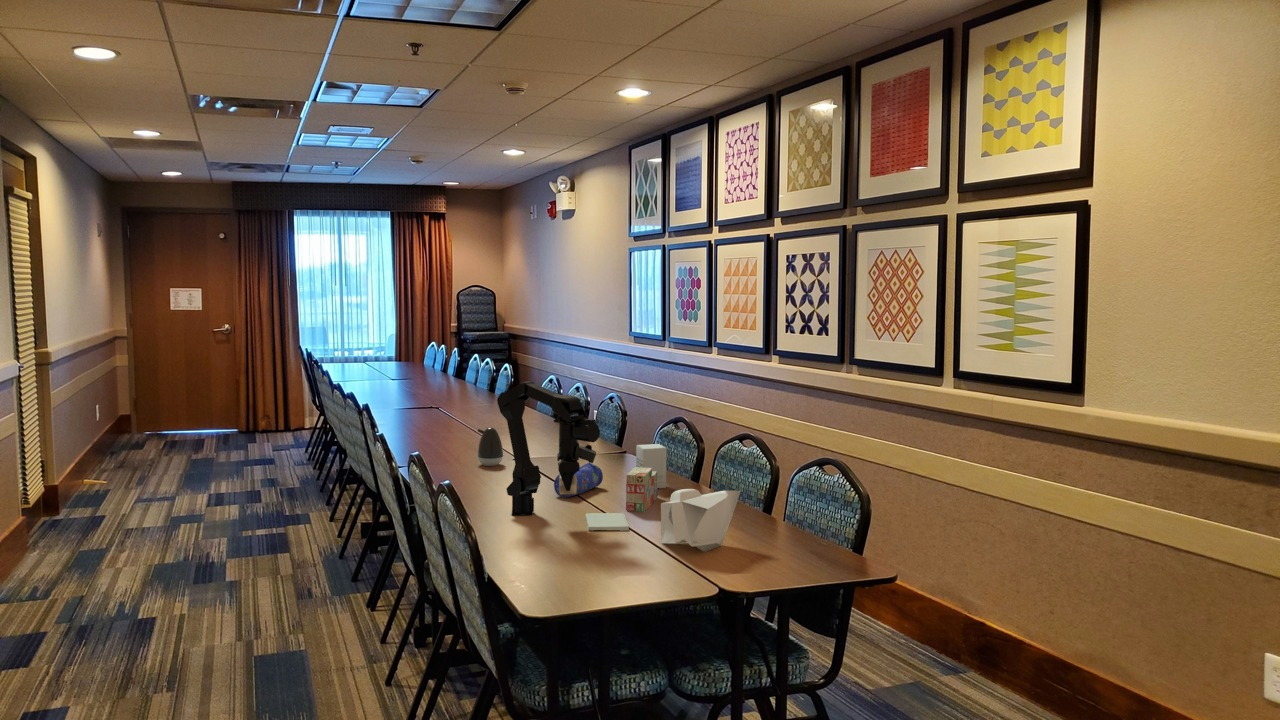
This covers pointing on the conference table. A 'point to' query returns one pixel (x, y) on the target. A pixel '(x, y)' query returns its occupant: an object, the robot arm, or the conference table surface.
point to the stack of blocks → (640, 489)
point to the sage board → (606, 521)
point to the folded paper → (697, 517)
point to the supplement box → (653, 460)
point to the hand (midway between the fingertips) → (567, 488)
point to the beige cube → (572, 489)
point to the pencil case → (583, 479)
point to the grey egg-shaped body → (490, 447)
